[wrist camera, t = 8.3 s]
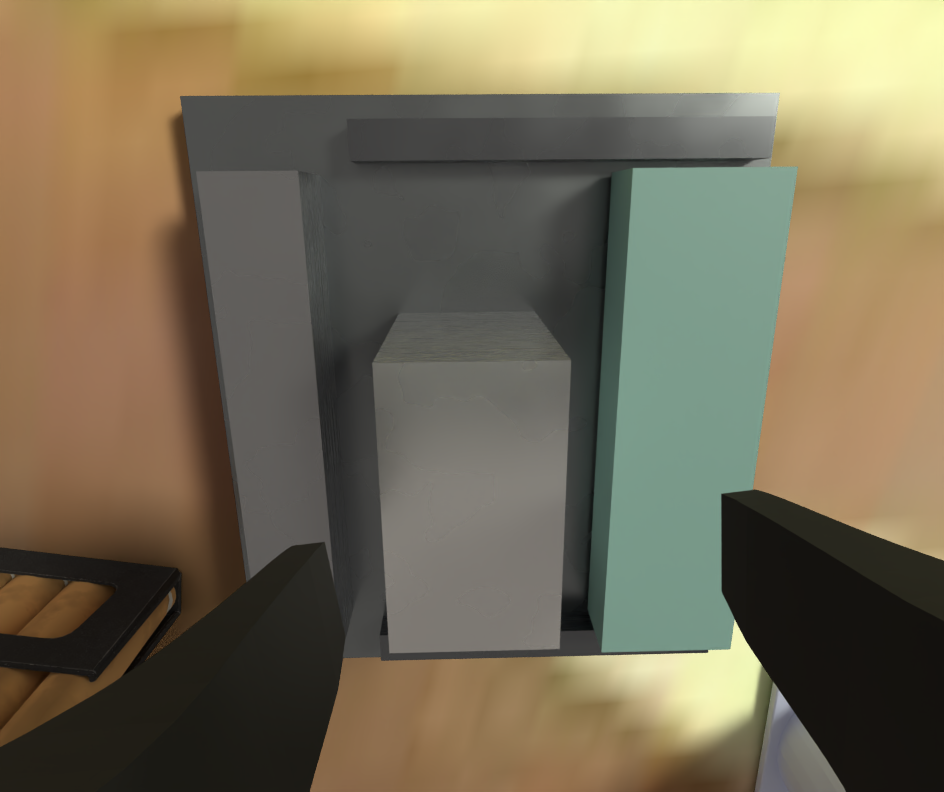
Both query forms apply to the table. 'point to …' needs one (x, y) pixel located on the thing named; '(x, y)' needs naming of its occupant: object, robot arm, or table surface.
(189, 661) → the robot arm
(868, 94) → the table surface
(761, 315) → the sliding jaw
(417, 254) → the vise bed
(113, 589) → the ammunition clip
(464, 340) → the steel block
